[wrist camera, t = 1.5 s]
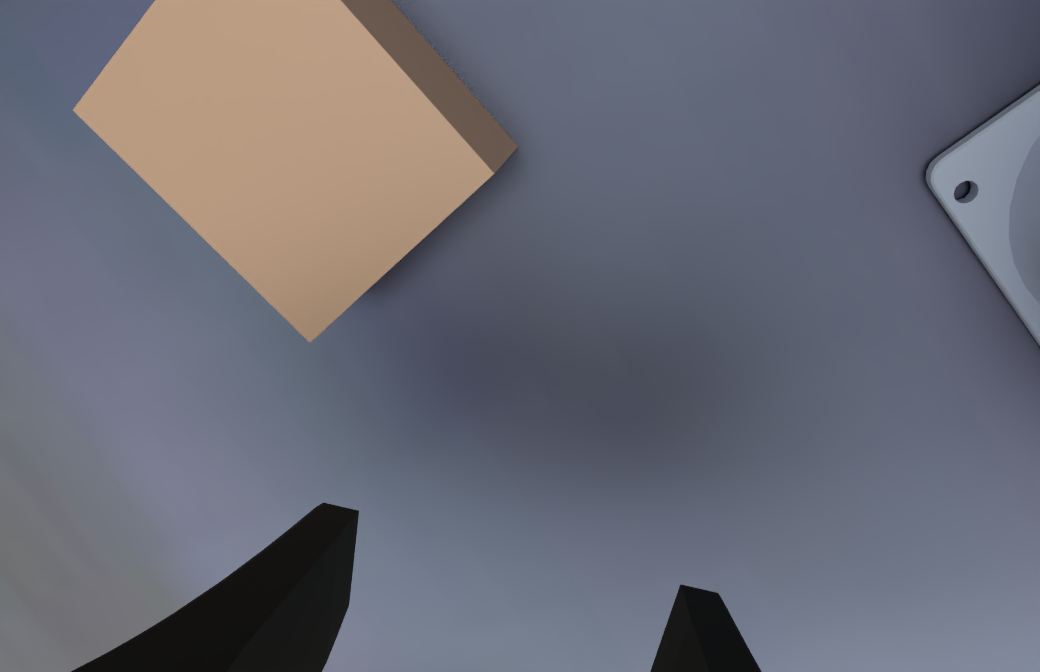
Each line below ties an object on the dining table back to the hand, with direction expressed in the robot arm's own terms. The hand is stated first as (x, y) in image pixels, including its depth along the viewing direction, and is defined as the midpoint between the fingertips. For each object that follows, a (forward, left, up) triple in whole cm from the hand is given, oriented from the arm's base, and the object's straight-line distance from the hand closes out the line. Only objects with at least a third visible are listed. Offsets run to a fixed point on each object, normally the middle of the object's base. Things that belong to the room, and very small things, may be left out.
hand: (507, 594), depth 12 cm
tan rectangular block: (+9, 0, -10) cm, 13 cm away
